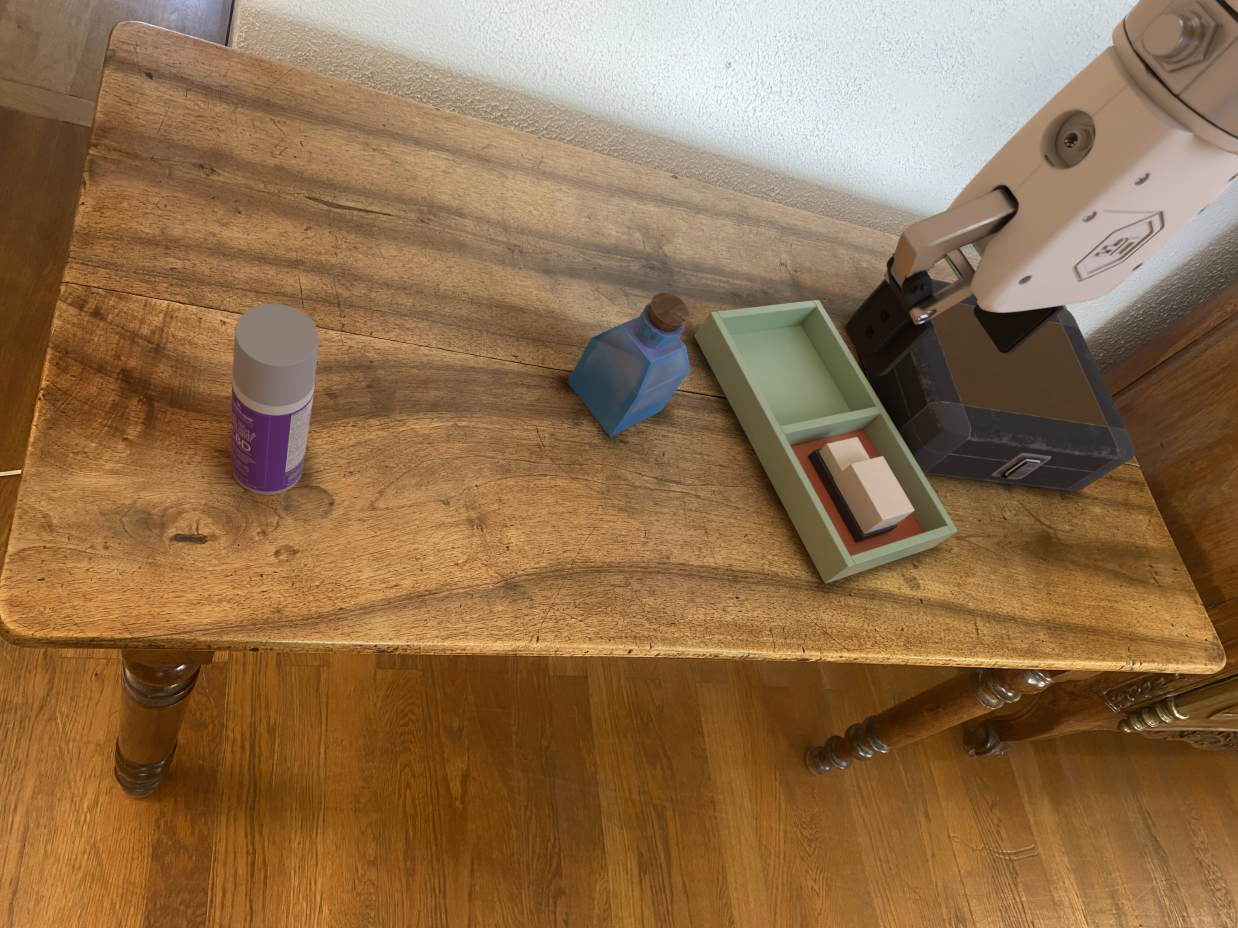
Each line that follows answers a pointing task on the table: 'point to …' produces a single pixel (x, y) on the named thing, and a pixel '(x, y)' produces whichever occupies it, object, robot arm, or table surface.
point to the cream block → (861, 488)
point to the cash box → (1004, 404)
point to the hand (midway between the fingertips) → (929, 341)
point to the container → (272, 396)
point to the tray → (815, 427)
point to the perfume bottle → (634, 365)
